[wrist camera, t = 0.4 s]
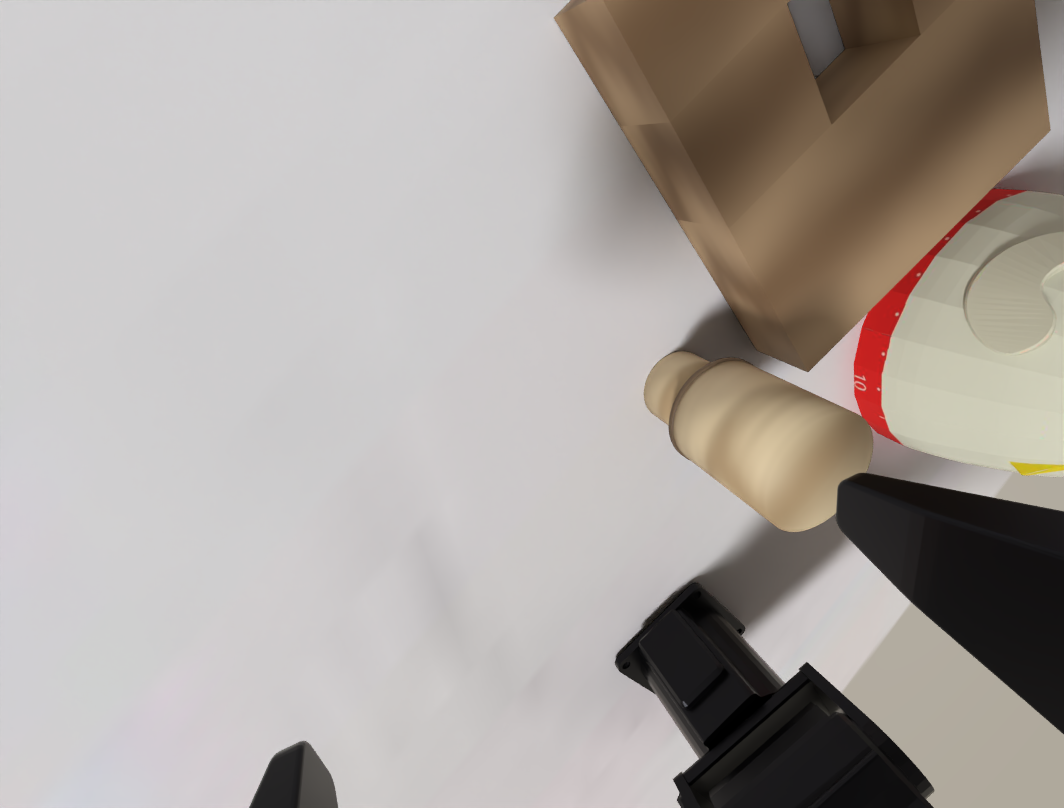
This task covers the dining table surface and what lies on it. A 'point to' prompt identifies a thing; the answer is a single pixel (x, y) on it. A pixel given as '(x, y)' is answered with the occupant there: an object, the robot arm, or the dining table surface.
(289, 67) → the dining table surface
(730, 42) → the board
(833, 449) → the peg
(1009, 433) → the kitchen timer
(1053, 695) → the robot arm
